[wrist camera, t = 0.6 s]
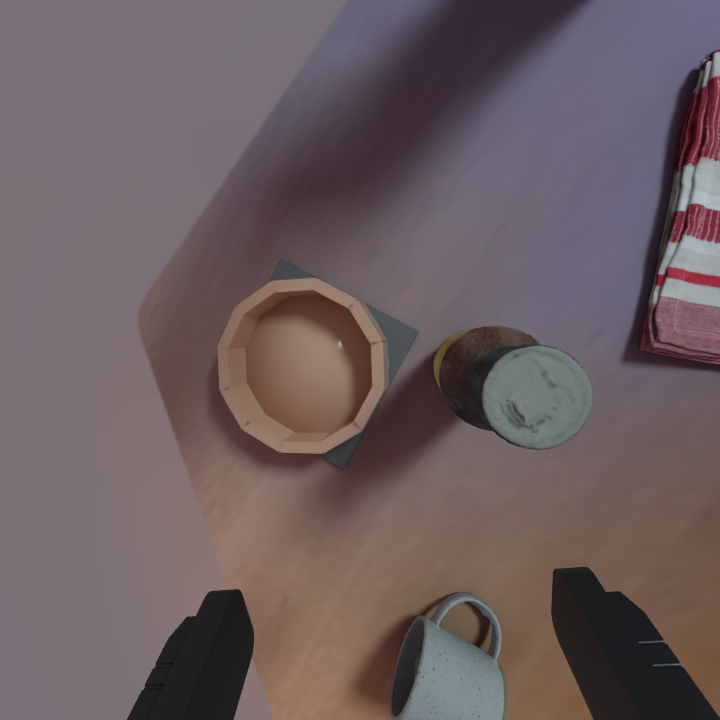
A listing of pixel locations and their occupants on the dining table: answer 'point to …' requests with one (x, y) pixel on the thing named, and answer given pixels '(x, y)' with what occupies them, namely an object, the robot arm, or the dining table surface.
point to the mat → (398, 347)
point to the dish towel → (691, 236)
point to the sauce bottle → (513, 386)
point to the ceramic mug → (448, 671)
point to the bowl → (302, 365)
